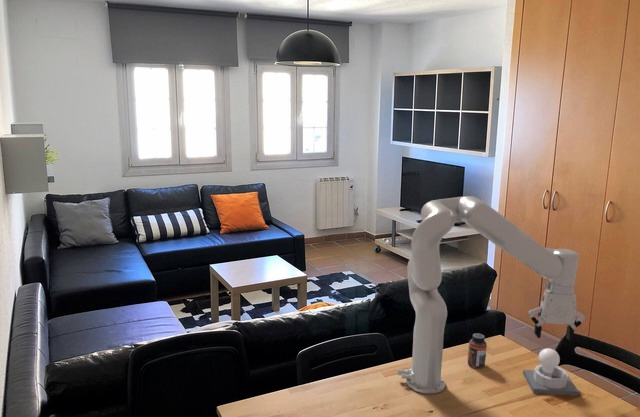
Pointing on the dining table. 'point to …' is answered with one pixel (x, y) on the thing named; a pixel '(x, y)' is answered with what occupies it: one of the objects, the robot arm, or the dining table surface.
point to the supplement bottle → (477, 351)
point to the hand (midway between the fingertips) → (553, 337)
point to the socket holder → (550, 382)
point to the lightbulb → (548, 361)
